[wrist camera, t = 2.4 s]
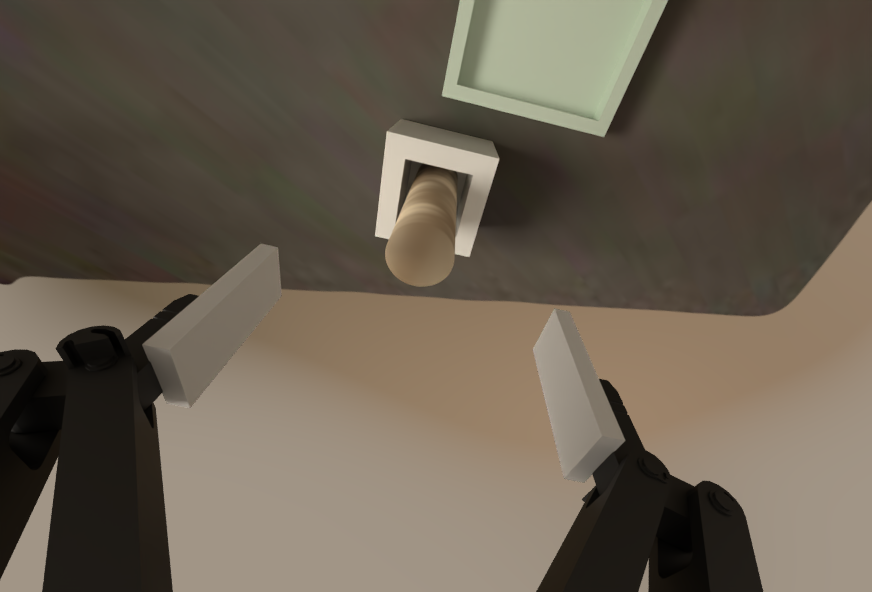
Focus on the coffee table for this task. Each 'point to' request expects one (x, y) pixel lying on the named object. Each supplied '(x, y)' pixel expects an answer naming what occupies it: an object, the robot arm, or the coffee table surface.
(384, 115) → the coffee table surface
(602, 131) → the tray
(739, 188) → the coffee table surface
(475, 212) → the hollow block
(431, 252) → the dowel
